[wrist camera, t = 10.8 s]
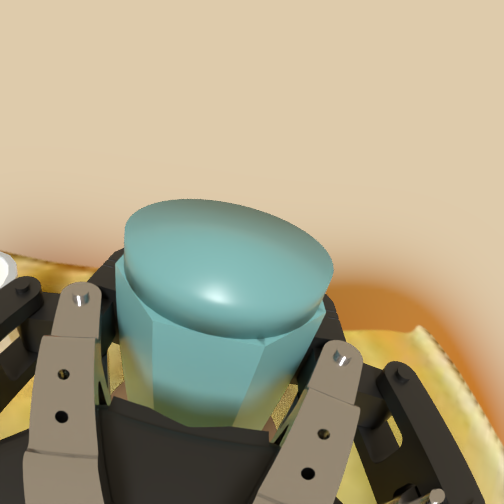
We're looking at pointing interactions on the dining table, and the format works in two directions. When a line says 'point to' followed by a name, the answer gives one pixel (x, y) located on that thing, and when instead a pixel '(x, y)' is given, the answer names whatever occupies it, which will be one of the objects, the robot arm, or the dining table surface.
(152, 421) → the robot arm
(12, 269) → the white cup
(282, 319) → the teal lidded canister
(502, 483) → the dining table surface
